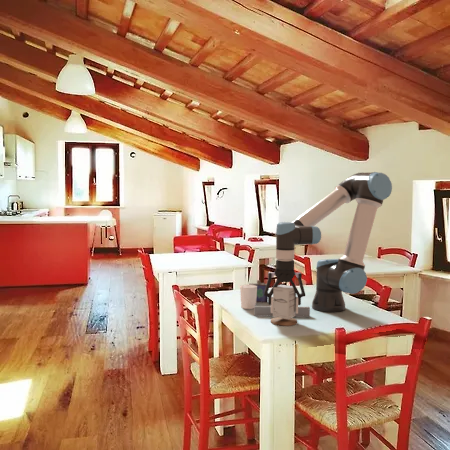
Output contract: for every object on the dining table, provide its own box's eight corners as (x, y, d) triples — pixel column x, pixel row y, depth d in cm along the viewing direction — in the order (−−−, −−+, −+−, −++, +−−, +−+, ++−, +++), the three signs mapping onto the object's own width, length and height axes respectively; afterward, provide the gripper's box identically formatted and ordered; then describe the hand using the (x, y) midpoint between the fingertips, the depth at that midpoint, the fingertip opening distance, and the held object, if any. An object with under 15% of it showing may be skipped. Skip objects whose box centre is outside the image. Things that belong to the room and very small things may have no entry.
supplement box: (272, 317, 207) (272, 287, 206) (280, 313, 213) (280, 284, 212) (288, 319, 203) (288, 289, 202) (296, 315, 209) (296, 286, 208)
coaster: (299, 320, 211) (299, 318, 211) (293, 327, 201) (293, 325, 201) (274, 317, 215) (274, 315, 215) (267, 324, 205) (267, 322, 205)
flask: (248, 302, 243) (248, 280, 242) (249, 300, 246) (249, 279, 245) (267, 303, 241) (267, 281, 240) (268, 301, 244) (268, 280, 243)
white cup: (255, 309, 228) (255, 288, 227) (238, 309, 229) (238, 287, 229) (258, 305, 236) (258, 285, 235) (241, 304, 237) (241, 284, 236)
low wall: (309, 315, 218) (309, 306, 218) (309, 316, 217) (309, 307, 217) (254, 314, 219) (254, 306, 219) (254, 315, 218) (254, 306, 217)
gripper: (310, 258, 209) (309, 310, 211) (257, 257, 210) (257, 309, 212) (313, 261, 202) (312, 315, 204) (258, 260, 202) (257, 314, 204)
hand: (284, 312), depth 208 cm, fingers closed on supplement box, 10 cm apart
